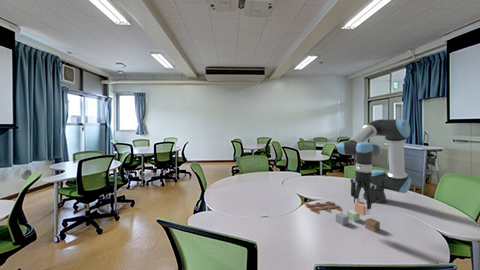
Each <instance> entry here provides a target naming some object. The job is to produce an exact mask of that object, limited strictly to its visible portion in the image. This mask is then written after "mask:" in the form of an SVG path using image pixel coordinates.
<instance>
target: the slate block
mask: <svg viewBox="0 0 480 270" xmlns="http://www.w3.org/2000/svg"><path fill="white" fill-rule="evenodd" d="M335 222H336V223H337V224H339V225H340V226H343V227H344V226H345V225H349V222H350V221H349V216H348V215H347V213H343V212H339V213H336V214H335Z"/></svg>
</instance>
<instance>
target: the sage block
mask: <svg viewBox="0 0 480 270" xmlns="http://www.w3.org/2000/svg"><path fill="white" fill-rule="evenodd" d="M346 215H348V216H349V220H350V221H351V222H353V223H355V222H356V223H357V222H359V221H360V220H361V219H360V216H361V214H359V213H357V212H355V209H349V210H347V211H346Z"/></svg>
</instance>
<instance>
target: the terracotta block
mask: <svg viewBox="0 0 480 270" xmlns="http://www.w3.org/2000/svg"><path fill="white" fill-rule="evenodd" d="M365 203H366V202H363V201H360V202H357V203H354V210H355V212H357V213H359V214H360V216H366V215H365Z"/></svg>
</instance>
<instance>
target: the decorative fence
mask: <svg viewBox="0 0 480 270" xmlns="http://www.w3.org/2000/svg"><path fill="white" fill-rule="evenodd" d="M304 205H305V207H306V208H309V210H310V211H312V212H313V213H315V214H317V215H319V214H320V213H321V211H320V210H324V211H325V212H326V213H332V209H335V210H336V211H338V212H342V211H343V209H342V208H341V206H340V205H336V202H331V201H325V203H324V202H322V203H321V202H315V203H314V204H313V203H312V204H310V203H305V204H304Z"/></svg>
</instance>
